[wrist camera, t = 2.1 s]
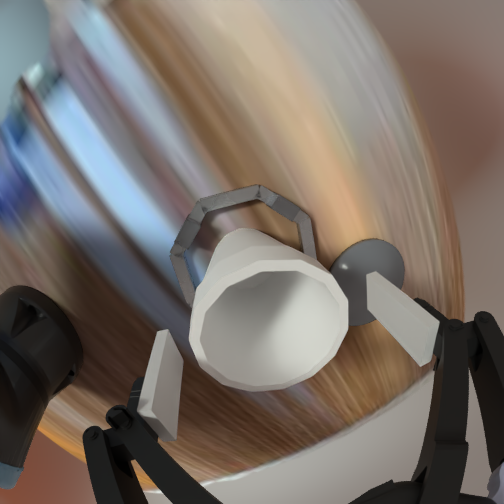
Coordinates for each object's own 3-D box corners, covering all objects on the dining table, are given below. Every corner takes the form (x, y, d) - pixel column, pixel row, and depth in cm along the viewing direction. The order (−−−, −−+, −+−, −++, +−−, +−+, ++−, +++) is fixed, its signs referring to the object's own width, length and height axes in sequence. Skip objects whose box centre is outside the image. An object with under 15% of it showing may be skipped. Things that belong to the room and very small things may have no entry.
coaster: (328, 333, 32) (330, 337, 31) (318, 252, 28) (321, 255, 27) (399, 305, 32) (402, 308, 32) (400, 228, 29) (404, 230, 28)
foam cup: (307, 265, 28) (369, 335, 16) (238, 316, 29) (256, 408, 17) (254, 192, 25) (296, 220, 13) (178, 251, 26) (154, 327, 14)
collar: (200, 331, 29) (200, 343, 27) (157, 211, 24) (152, 215, 22) (319, 298, 30) (326, 307, 28) (298, 174, 25) (306, 175, 23)
